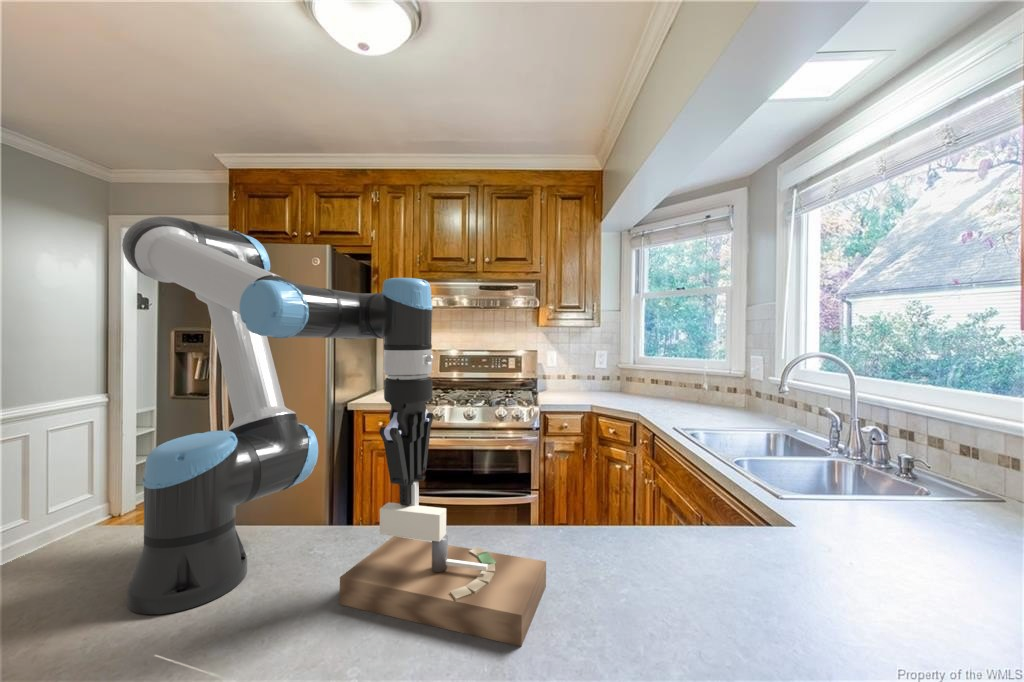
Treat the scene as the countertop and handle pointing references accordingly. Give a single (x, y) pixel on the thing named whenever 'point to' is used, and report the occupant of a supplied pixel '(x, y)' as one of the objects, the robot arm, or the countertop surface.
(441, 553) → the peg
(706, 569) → the countertop surface
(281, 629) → the countertop surface
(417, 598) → the board
